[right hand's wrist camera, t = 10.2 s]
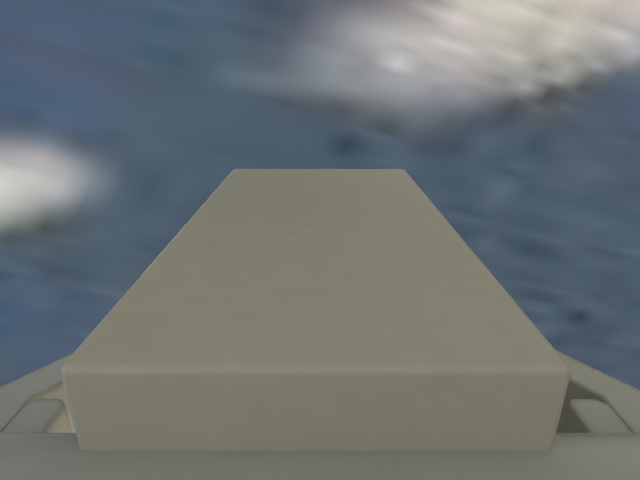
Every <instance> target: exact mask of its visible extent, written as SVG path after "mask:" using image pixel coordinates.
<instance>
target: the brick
mask: <svg viewBox="0 0 640 480" xmlns="http://www.w3.org/2000/svg"><path fill="white" fill-rule="evenodd" d="M61 377H62V381H63V384H64V388H65V392H66V396H67V400H68V404H69V408H70V412H71V416H72V420H73V424H74V428H75V432H76V435H77V439H78V443H79V447H80V449H81V450H84V451H549V450H551V449H552V447H553V443H554V439H555V435H556V431H557V427H558V423H559V419H560V415H561V411H562V407H563V403H564V399H565V395H566V390H567V386H568V382H569V378H570V369H569V366H568V365H567V363H566V362H565V361H564V360H563V359H562V357H561V356H560V355H559V354H558V353H557V351H556V350H555V349H554V348H553V347H552V345H551V344H550V343H549V342H548V341H547V339H546V338H545V337H544V336H543V335H542V334H541V332H540V331H539V330H538V329H537V328H536V326H535V325H534V324H533V323H532V322H531V320H530V319H529V318H528V317H527V316H526V314H525V313H524V312H523V311H522V310H521V308H520V307H519V306H518V305H517V304H516V303H515V301H514V300H513V299H512V298H511V297H510V295H509V294H508V293H507V292H506V291H505V289H504V288H503V287H502V286H501V285H500V283H499V282H498V281H497V280H496V279H495V277H494V276H493V275H492V274H491V273H490V272H489V270H488V269H487V268H486V267H485V266H484V264H483V263H482V262H481V261H480V260H479V258H478V257H477V256H476V255H475V254H474V252H473V251H472V250H471V249H470V248H469V246H468V245H467V244H466V243H465V242H464V241H463V239H462V238H461V237H460V236H459V235H458V233H457V232H456V231H455V230H454V229H453V227H452V226H451V225H450V224H449V223H448V221H447V220H446V219H445V218H444V217H443V215H442V214H441V213H440V212H439V211H438V210H437V208H436V207H435V206H434V205H433V204H432V202H431V201H430V200H429V199H428V198H427V196H426V195H425V194H424V193H423V192H422V190H421V189H420V188H419V187H418V186H417V184H416V183H415V182H414V181H413V180H412V179H411V177H410V176H409V175H408V174H407V173H406V171H405V170H403V169H235V170H233V171H232V172H231V173H230V174H229V175H228V177H227V178H226V179H225V180H224V181H223V182H222V184H221V185H220V186H219V187H218V188H217V189H216V190H215V192H214V193H213V194H212V195H211V196H210V197H209V198H208V200H207V201H206V202H205V203H204V204H203V205H202V206H201V208H200V209H199V210H198V211H197V212H196V213H195V214H194V216H193V217H192V218H191V219H190V220H189V221H188V223H187V224H186V225H185V226H184V227H183V228H182V229H181V231H180V232H179V233H178V234H177V235H176V236H175V237H174V239H173V240H172V241H171V242H170V243H169V244H168V245H167V247H166V248H165V249H164V250H163V251H162V252H161V253H160V255H159V256H158V257H157V258H156V259H155V260H154V261H153V263H152V264H151V265H150V266H149V267H148V268H147V270H146V271H145V272H144V273H143V274H142V275H141V276H140V278H139V279H138V280H137V281H136V282H135V283H134V284H133V286H132V287H131V288H130V289H129V290H128V291H127V292H126V294H125V295H124V296H123V297H122V298H121V299H120V300H119V302H118V303H117V304H116V305H115V306H114V307H113V309H112V310H111V311H110V312H109V313H108V314H107V315H106V317H105V318H104V319H103V320H102V321H101V322H100V323H99V325H98V326H97V327H96V328H95V329H94V330H93V331H92V333H91V334H90V335H89V336H88V337H87V338H86V339H85V341H84V342H83V343H82V344H81V345H80V346H79V347H78V349H77V350H76V351H75V352H74V353H73V354H72V356H71V357H70V358H69V359H68V360H67V361H66V362H65V364H64V365H63V367H62V370H61Z"/></svg>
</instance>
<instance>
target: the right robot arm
mask: <svg viewBox="0 0 640 480" xmlns="http://www.w3.org/2000/svg"><path fill="white" fill-rule="evenodd" d="M557 353H558V354H559V355H560V356H561V357H562V359H563V360H564V361H565V362H566V363H567V365H568V366H569V369H570V378H569V382H568V386H567V390H566V395H565V399H564V403H563V407H562V411H561V415H560V419H559V423H558V427H557V431H556V435H555V439H554V443H553V447H552V449H551V450H549V451H84V450H81V449H80V447H79V443H78V439H77V435H76V432H75V428H74V424H73V420H72V416H71V412H70V408H69V404H68V400H67V396H66V392H65V388H64V384H63V381H62V377H61V370H62V367H63V365H64V364H65V362H66V361H67V360H68V359H69V358H70V357H71V356H72V354H73V353H72V354H70V355H68V356H66V357H64V358H62V359H60V360H57V361H55V362H53V363H51V364H49V365H47V366H45V367H43V368H40V369H38V370H36V371H34V372H32V373H30V374H28V375H26V376H23V377H21V378H19V379H17V380H15V381H13V382H11V383H9V384H6V385H4V386H2V387H0V480H640V390H638V389H636V388H634V387H632V386H630V385H628V384H625V383H623V382H621V381H619V380H617V379H615V378H613V377H611V376H609V375H607V374H604V373H602V372H600V371H598V370H596V369H594V368H592V367H590V366H588V365H586V364H583V363H581V362H579V361H577V360H575V359H573V358H571V357H569V356H567V355H565V354H562V353H560V352H558V351H557Z"/></svg>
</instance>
